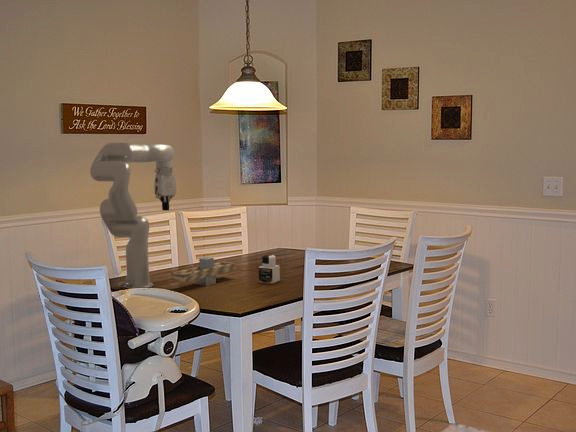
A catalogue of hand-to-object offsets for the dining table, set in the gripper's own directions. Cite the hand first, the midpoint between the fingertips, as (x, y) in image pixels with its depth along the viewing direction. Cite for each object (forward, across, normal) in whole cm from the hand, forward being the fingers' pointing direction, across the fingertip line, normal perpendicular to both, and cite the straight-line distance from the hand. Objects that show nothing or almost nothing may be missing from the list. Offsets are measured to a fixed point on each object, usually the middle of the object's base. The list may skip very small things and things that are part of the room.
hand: (165, 210), depth 336 cm
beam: (+27, -4, -29) cm, 40 cm away
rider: (+25, -3, -29) cm, 38 cm away
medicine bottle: (+31, +16, -50) cm, 61 cm away
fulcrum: (+31, -4, -29) cm, 43 cm away
